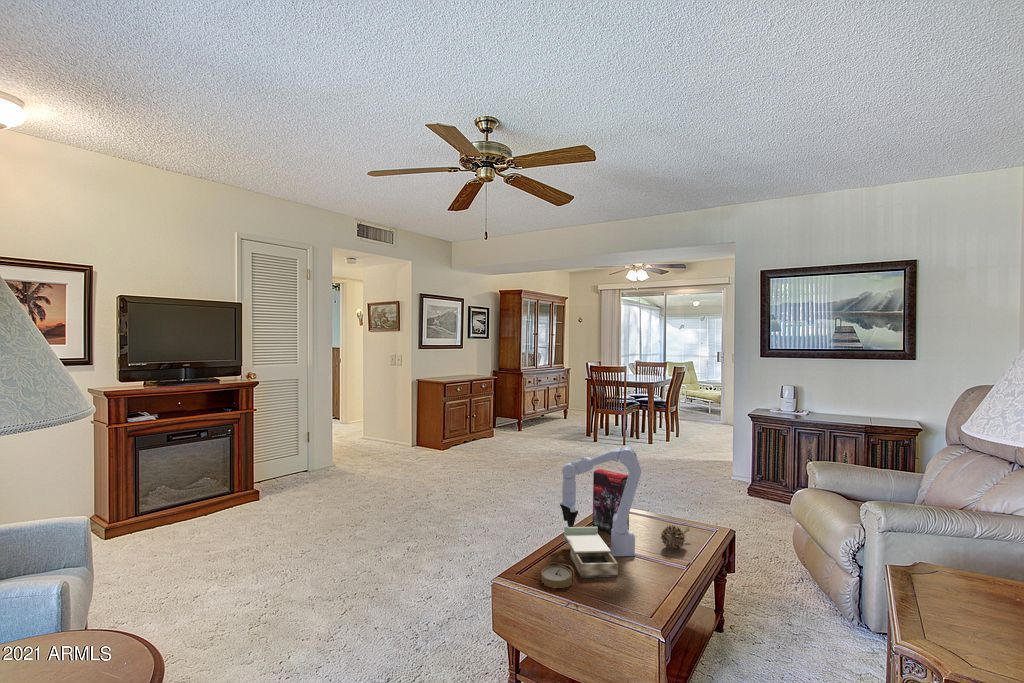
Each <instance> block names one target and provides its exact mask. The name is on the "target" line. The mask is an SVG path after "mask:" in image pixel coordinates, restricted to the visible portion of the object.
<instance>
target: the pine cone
mask: <svg viewBox="0 0 1024 683" xmlns="http://www.w3.org/2000/svg"><path fill="white" fill-rule="evenodd" d="M668 525H669V526H668ZM668 525H666V527H664V528H663V529H662V531H660V535H661V536H660V540H661V543H663V545H665V547H666V548H668V549H672V550H673V549H679V548H681V546H683V545H684V543H685V541H686V539H685V538H686V535H685V534H687V533H688V532H691V529H690V527H689V526H686V527H685V528H684V530H682V529H681V528H680V527H676V525H670V524H668Z"/></svg>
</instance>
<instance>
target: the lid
mask: <svg viewBox="0 0 1024 683" xmlns="http://www.w3.org/2000/svg"><path fill="white" fill-rule="evenodd" d="M563 530H564V531H563V543H569V545H570V548H571V547H572V549H573V551H574V552H575V553H595V552H611V550H610V549H609V548H610V547H608V545H607V544H606V543H605V541H604V540H603V538H602V537H601V536H600V535H599V532H598V531H599V529H598V527H592V526H573V527H567V526H565V527H564V528H563Z"/></svg>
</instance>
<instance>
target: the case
mask: <svg viewBox="0 0 1024 683" xmlns="http://www.w3.org/2000/svg"><path fill="white" fill-rule="evenodd" d="M569 554H570V556H569V557H570V560H571V562H572V564H573V566H574V567H575V569H576V570H577V573H578V574H579V577H580V578H581V579H583V578H585V579H586V578H589V579H590V578H617V577H619V562H618V561H617V560H616V558H615V556H613V555H612V554H611V553H610V552H595V553H575V552H574V551H573V549H572V547H571V546H570V553H569Z"/></svg>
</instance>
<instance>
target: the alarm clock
mask: <svg viewBox="0 0 1024 683" xmlns="http://www.w3.org/2000/svg"><path fill="white" fill-rule="evenodd" d="M540 576H541V578H540V582H541V581H542V582H541V584H542V583H544V584H545V585H548V586H551V587H556V588H563V587H567V588H569V587H570V586H571V585H572V584H573V577H575V570H574V568H573V567H572V566H571V565H568V564H566V563H558V562H550V563H549V564H548V566H546V567H544V568H542V569H541V571H540ZM545 585H544V586H545ZM563 589H564V588H563Z"/></svg>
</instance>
